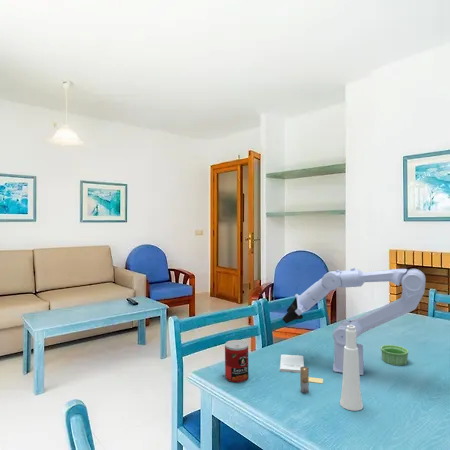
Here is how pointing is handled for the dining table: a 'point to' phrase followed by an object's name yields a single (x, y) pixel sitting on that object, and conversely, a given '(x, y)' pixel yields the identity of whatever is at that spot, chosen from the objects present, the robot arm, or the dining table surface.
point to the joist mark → (315, 380)
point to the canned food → (236, 360)
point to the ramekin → (394, 354)
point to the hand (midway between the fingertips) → (286, 316)
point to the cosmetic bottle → (351, 373)
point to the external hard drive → (291, 363)
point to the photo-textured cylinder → (304, 379)
